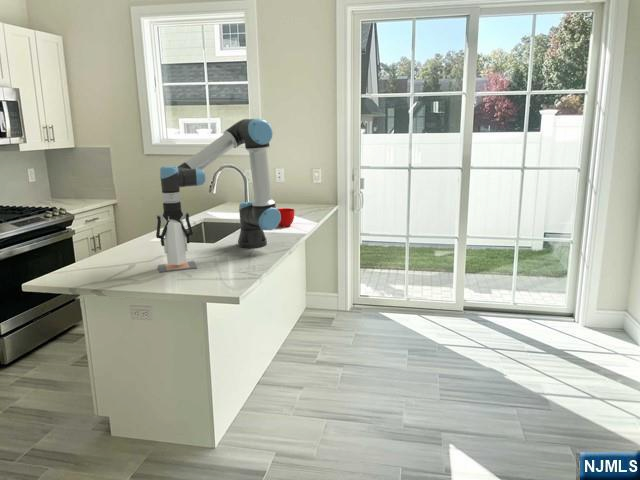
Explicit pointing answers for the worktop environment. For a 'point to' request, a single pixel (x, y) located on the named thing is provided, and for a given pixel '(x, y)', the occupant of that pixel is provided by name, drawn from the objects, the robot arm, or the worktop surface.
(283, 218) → the ceramic cup
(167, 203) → the robot arm
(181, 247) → the milk
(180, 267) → the board
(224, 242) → the worktop surface
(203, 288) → the worktop surface
